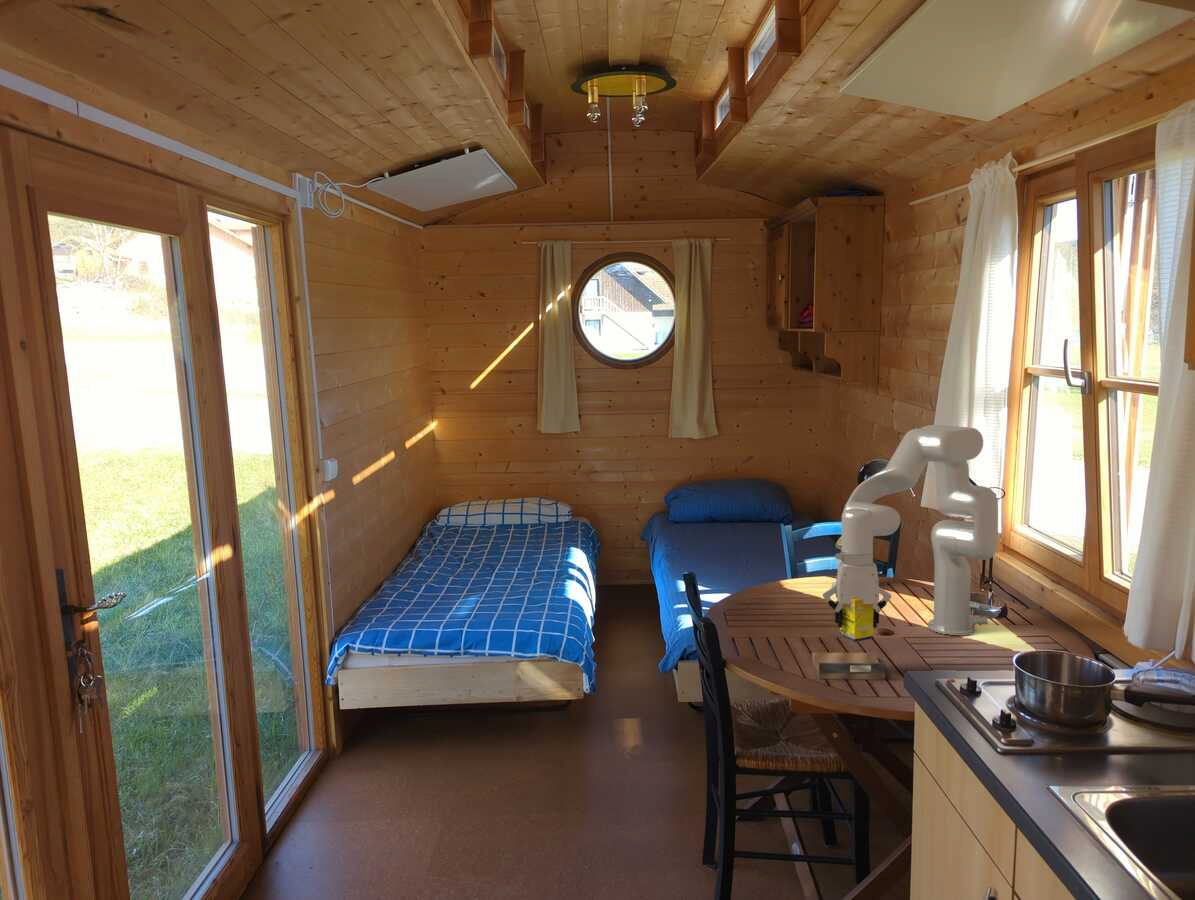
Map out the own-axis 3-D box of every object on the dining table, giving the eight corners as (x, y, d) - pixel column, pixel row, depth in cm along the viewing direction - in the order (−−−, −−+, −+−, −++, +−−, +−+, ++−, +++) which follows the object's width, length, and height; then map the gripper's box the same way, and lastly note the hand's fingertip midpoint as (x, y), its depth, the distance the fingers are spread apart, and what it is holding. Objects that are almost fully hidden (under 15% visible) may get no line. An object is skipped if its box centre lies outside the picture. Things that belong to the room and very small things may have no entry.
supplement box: (839, 635, 221) (839, 593, 220) (858, 631, 223) (858, 590, 222) (854, 642, 216) (854, 600, 214) (873, 638, 218) (874, 596, 216)
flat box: (873, 658, 229) (874, 643, 228) (885, 679, 215) (885, 664, 215) (812, 658, 231) (812, 643, 230) (819, 679, 217) (819, 663, 216)
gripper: (823, 562, 214) (823, 630, 216) (896, 562, 212) (895, 631, 214) (819, 554, 222) (819, 620, 224) (889, 554, 219) (889, 621, 222)
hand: (856, 625), depth 219 cm, fingers closed on supplement box, 8 cm apart
